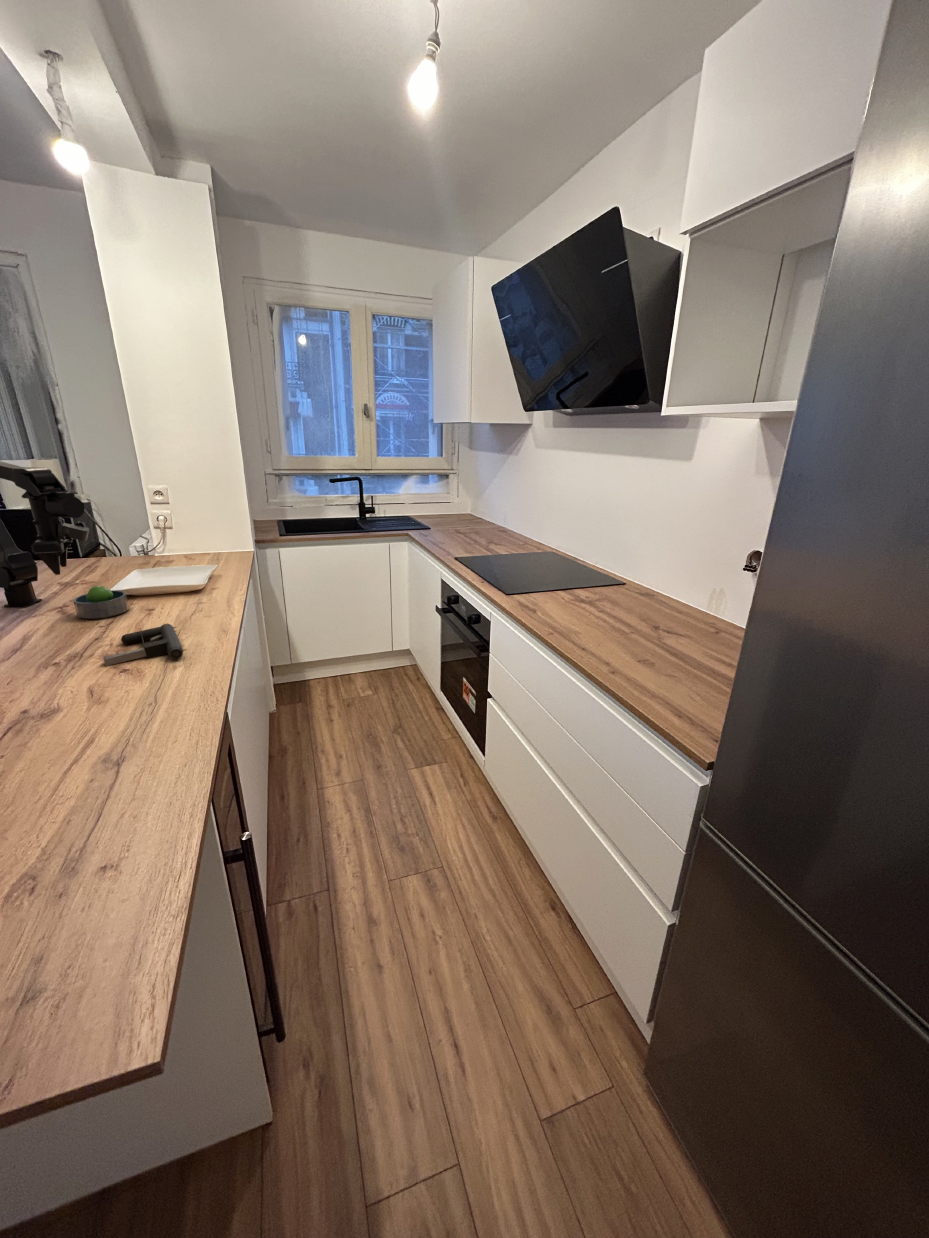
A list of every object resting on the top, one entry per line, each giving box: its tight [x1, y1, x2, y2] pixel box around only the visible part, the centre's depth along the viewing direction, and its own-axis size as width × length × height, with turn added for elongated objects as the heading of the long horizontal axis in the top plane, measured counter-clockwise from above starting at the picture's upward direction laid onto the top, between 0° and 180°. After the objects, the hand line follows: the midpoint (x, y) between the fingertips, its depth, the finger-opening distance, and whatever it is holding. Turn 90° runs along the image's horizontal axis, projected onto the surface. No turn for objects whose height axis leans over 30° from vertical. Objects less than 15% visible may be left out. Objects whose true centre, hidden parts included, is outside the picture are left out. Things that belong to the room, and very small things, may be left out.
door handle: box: [103, 623, 188, 667], centre depth 115 cm, size 3×20×16 cm
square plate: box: [109, 564, 218, 597], centre depth 166 cm, size 27×27×4 cm
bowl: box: [72, 590, 130, 620], centre depth 139 cm, size 12×12×5 cm
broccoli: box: [85, 585, 113, 603], centre depth 139 cm, size 6×5×8 cm
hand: (61, 570), depth 139 cm, fingers open, 9 cm apart
